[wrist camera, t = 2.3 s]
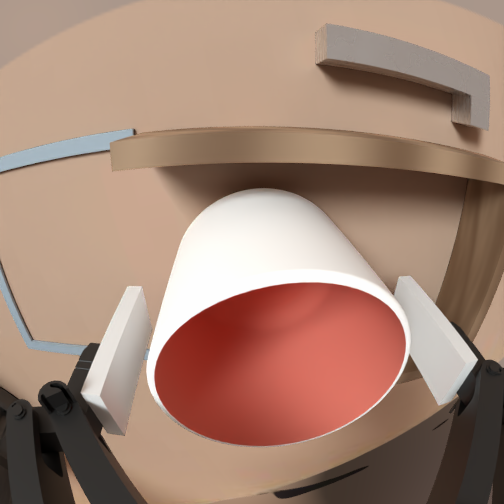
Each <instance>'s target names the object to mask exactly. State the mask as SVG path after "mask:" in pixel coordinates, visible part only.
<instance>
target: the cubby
mask: <svg viewBox="0 0 504 504" xmlns="http://www.w3.org/2000/svg"><path fill="white" fill-rule="evenodd" d="M110 155H111V165H112V171H121V170H130V169H140V168H151V167H164V166H178V165H194V164H216V163H320V164H342V165H358V166H372V167H384V168H395V169H405V170H414V171H423V172H431V173H438V174H445V175H452V176H459V177H465V178H468V184H467V189H466V195H465V200H464V205H463V210H462V215H461V219H460V224H459V228H458V232H457V236H456V240H455V244H454V248H453V251H452V255H451V258H450V262H449V265H448V269H447V272H446V275H445V278H444V281H443V284H442V287H441V290H440V293H439V296H438V299H437V301H436V304H435V305H436V306H437V307H438V308H439V310H440V311H441V312H442V313H443V315H444V316H445V317H446V318H447V319H448V321H449V322H454V323H455V324H457V325H458V326H459V327H460V328H461V329H462V330H463V331H464V333H465V334H466V335H467V336H468V338H469V339H470V341H471V342H473V341H474V339H475V337H476V335H477V333H478V331H479V329H480V327H481V324H482V322H483V320H484V318H485V316H486V314H487V311H488V309H489V307H490V305H491V302H492V300H493V298H494V295H495V293H496V290H497V288H498V285H499V282H500V280H501V277H502V274H503V272H504V162H503V161H500V160H497V159H495V158H492V157H489V156H486V155H483V154H479V153H475V152H471V151H467V150H463V149H459V148H454V147H450V146H445V145H440V144H435V143H430V142H425V141H419V140H413V139H407V138H401V137H395V136H388V135H380V134H372V133H364V132H355V131H344V130H333V129H319V128H301V127H267V126H242V127H208V128H190V129H176V130H165V131H154V132H145V133H140V134H136V135H133V136H129V137H126V138H123V139H119V140H116V141H113V142H110ZM422 377H423V376H422V374H421V373H420V371H419V369H418V367H417V366H416V364H415V362H414V361H413V359H412V357H411V355H410V354H409V356H408V360H407V363H406V365H405V368H404V370H403V372H402V374H401V376H400V377H399V379H398V381H397V382H396V384H400V383H404V382H408V381H411V380H415V379H419V378H422ZM396 384H395V385H396Z"/></svg>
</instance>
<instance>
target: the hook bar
mask: <svg viewBox="0 0 504 504" xmlns="http://www.w3.org/2000/svg"><path fill="white" fill-rule="evenodd" d="M315 43H316V64H320V65H328V66H336V67H343V68H349V69H355V70H361V71H366V72H372V73H377V74H381V75H386V76H391V77H395V78H399V79H403V80H407V81H411V82H415V83H418V84H422V85H425V86H429V87H432V88H435V89H439V90H442V91H445V92H448V93H451V94H452V122H455V123H459V124H462V125H465V126H469V127H473V128H478V129H482V130H487V131H488V130H489V111H490V77H489V75H487V74H485V73H483V72H481V71H479V70H477V69H475V68H473V67H471V66H468V65H466V64H464V63H462V62H459V61H457V60H455V59H452V58H450V57H447V56H445V55H442V54H440V53H437V52H435V51H432V50H429V49H426V48H423V47H420V46H418V45H414V44H411V43H408V42H405V41H402V40H398V39H395V38H391V37H388V36H384V35H380V34H376V33H372V32H368V31H363V30H359V29H354V28H349V27H344V26H338V25H332V24H325V25H324V26H323V27H321V28H320V29H319V30H318V31H317V32H315Z"/></svg>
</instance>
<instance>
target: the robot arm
mask: <svg viewBox="0 0 504 504" xmlns="http://www.w3.org/2000/svg"><path fill="white" fill-rule="evenodd" d="M394 297H395V298H396V300H397V301H398V302H399V304H400V305H401V307H402V308H403V310H404V312H405V314H406V316H407V319H408V322H409V326H410V330H411V346H410V353H409V354H410V355H411V357H412V359H413V361H414V362H415V364H416V366H417V367H418V369H419V371H420V373H421V374H422V376H423V378H424V380H425V382H426V383H427V385H428V387H429V389H430V391H431V392H432V394H433V396H434V398H435V400H436V402H437V403H438V405H442V404H445V403H447V402H450V401H451V400H452V399H453V397H454V396H455V395H456V393H457V394H458V396H459V399H458V400H457V402H456V403H455V404H454V406H453V407H452V408H451V410H450V412H449V413H452V411H453V410H454V409H455V413H454V417H453V422H452V426H451V430H450V434H449V438H448V442H447V445H446V449H445V453H444V456H443V459H442V462H441V465H440V468H439V471H438V474H437V477H436V480H435V483H434V485H433V488H432V491H431V493H430V496H429V499H428V501H427V503H426V504H487V503H488V499H489V495H490V491H491V486H492V483H493V495H492V504H504V368H502V367H501V366H500V365H499V364H498V363H497V362H495V361H493V360H485V359H484V357H483V356H482V355H481V353H480V352H479V351H478V349H477V348H476V347H475V345H474V344H473V343H472V342H471V341H470V339H469V338H468V336H467V335H466V334H465V333H464V331H463V330H462V329H461V328H460V327H459V326H458V325H457V324H455V323H454V322H449V321H448V319H447V318H446V317H445V316H444V315H443V313H442V312H441V311H440V310H439V308H438V307H437V306H436V305H435V304H434V302H433V301H432V300H431V299H430V298H429V297H428V295H427V294H426V293H425V292H424V291H423V290H422V288H421V287H420V286H419V285H418V284H417V283H416V282H415V280H414V279H413V278H412V277H411V276H399V278H398V282H397V286H396V289H395V293H394ZM151 332H152V326H151V322H150V318H149V314H148V310H147V306H146V301H145V297H144V293H143V288H142V286H128V287H127V289H126V291H125V293H124V295H123V297H122V299H121V301H120V303H119V305H118V307H117V309H116V311H115V313H114V315H113V318H112V320H111V322H110V324H109V326H108V328H107V331H106V333H105V335H104V337H103V339H102V342H101V344H97V343H90V344H89V345H88V346H87V347H86V348H85V349H84V350H83V352H82V354H81V356H80V358H79V361H78V362H77V365H76V369H74V371H73V373H72V376H71V378H70V380H69V383H68V385H66V384H65V383H63V382H61V381H51V382H48V383H47V384H45V385H44V386H43V387H42V388H41V389H40V391H39V394H38V401H39V402H40V404H41V405H42V406H41V407H32V406H31V405H30V403H29V402H28V401H26V400H23V399H19V400H18V399H16V398H15V397H14V396H12V395H11V394H9V393H8V392H6V391H5V390H3V389H2V388H0V504H75V501H74V497H73V493H72V490H71V486H70V481H69V477H68V473H67V468H66V463H65V458H64V453H65V455H66V458H67V460H68V462H69V464H70V466H71V468H72V470H73V472H74V474H75V476H76V478H77V480H78V482H79V484H80V486H81V488H82V489H83V491H84V493H85V495H86V496H87V498H88V500H89V502H90V503H91V504H147V502H146V501H145V500H144V498H143V497H142V496H141V494H140V493H139V492H138V490H137V489H136V488H135V486H134V485H133V483H132V482H131V481H130V479H129V478H128V476H127V475H126V473H125V472H124V470H123V469H122V467H121V466H120V464H119V463H118V461H117V460H116V458H115V457H114V455H113V453H112V452H111V450H110V448H109V447H108V445H107V443H106V442H105V440H104V438H103V437H102V435H101V430H102V427H104V429H105V430H106V432H107V433H110V434H116V435H122V436H125V433H126V429H127V424H128V420H129V415H130V411H131V407H132V403H133V399H134V394H135V390H136V387H137V383H138V379H139V375H140V371H141V367H142V364H143V360H144V356H145V353H146V349H147V346H148V342H149V339H150V335H151ZM63 452H64V453H63Z"/></svg>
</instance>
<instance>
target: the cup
mask: <svg viewBox="0 0 504 504" xmlns="http://www.w3.org/2000/svg"><path fill="white" fill-rule="evenodd" d="M410 346H411V330H410V326H409V322H408V319H407V316H406V314H405V312H404V310H403V308H402V307H401V305H400V304H399V302H398V301H397V300H396V298H395V297H394V296H393V294H392V293H391V292H390V291H389V289H388V288H387V287H386V285H385V284H384V283H383V282H382V280H381V279H380V278H379V277H378V275H377V274H376V273H375V272H374V270H373V269H372V268H371V267H370V265H369V264H368V263H367V262H366V260H365V259H364V258H363V257H362V256H361V254H360V253H359V252H358V251H357V250H356V248H355V247H354V246H353V245H352V244H351V242H350V241H349V240H348V239H347V238H346V237H345V235H344V234H343V233H342V232H341V231H340V230H339V228H338V227H337V226H336V225H335V224H334V223H333V222H332V220H331V219H330V218H329V217H328V216H327V215H326V214H325V213H324V212H323V211H322V210H321V209H320V208H319V207H318V206H316V205H315V204H314V203H312V202H311V201H309V200H307V199H305V198H303V197H302V196H300V195H297V194H294V193H292V192H288V191H284V190H279V189H272V188H256V189H248V190H243V191H239V192H236V193H233V194H230V195H228V196H225V197H223V198H221V199H219V200H218V201H216V202H214V203H213V204H211V205H210V206H208V207H207V208H206V209H205V210H203V211H202V212H201V213H200V214H199V215H198V216H197V217H196V219H195V220H194V221H193V222H192V223H191V225H190V226H189V228H188V229H187V231H186V233H185V234H184V236H183V238H182V241H181V243H180V246H179V249H178V252H177V256H176V259H175V262H174V265H173V269H172V272H171V275H170V278H169V282H168V285H167V289H166V292H165V295H164V299H163V302H162V306H161V310H160V313H159V317H158V320H157V324H156V328H155V332H154V335H153V339H152V343H151V347H150V351H149V355H148V360H147V379H148V384H149V388H150V391H151V393H152V395H153V397H154V399H155V401H156V402H157V404H158V405H159V407H160V408H161V409H162V410H163V411H164V412H165V414H166V415H167V416H168V417H170V418H171V419H172V420H173V421H174V422H175V423H177V424H178V425H180V426H181V427H183V428H184V429H186V430H188V431H190V432H192V433H194V434H196V435H198V436H201V437H203V438H206V439H209V440H212V441H215V442H219V443H223V444H228V445H234V446H243V447H276V446H285V445H291V444H297V443H301V442H305V441H309V440H313V439H316V438H319V437H322V436H324V435H327V434H330V433H332V432H334V431H337V430H339V429H341V428H343V427H345V426H347V425H348V424H350V423H352V422H354V421H355V420H357V419H358V418H360V417H361V416H363V415H364V414H366V413H367V412H368V411H370V410H371V409H372V408H373V407H375V406H376V405H377V404H378V403H379V402H380V401H381V400H382V399H383V398H384V397H385V396H386V395H387V394H388V392H389V391H390V390H391V389H392V388H393V386H394V385H395V384H396V382H397V381H398V379H399V377H400V376H401V374H402V372H403V370H404V368H405V365H406V363H407V360H408V356H409V353H410Z"/></svg>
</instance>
